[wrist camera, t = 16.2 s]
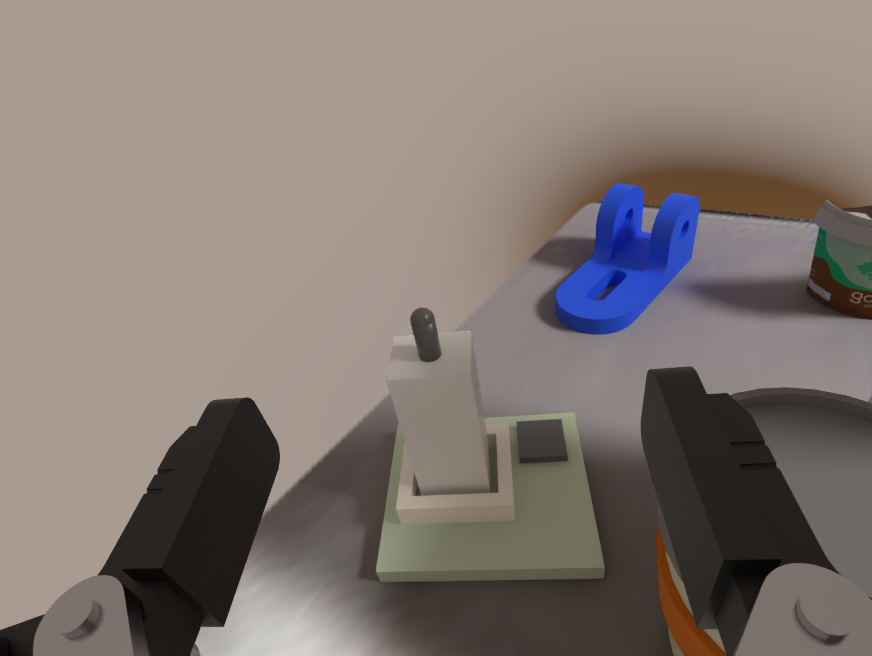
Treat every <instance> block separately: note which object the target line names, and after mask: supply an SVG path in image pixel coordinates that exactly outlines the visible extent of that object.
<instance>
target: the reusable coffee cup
mask: <svg viewBox="0 0 872 656" xmlns="http://www.w3.org/2000/svg"><path fill="white" fill-rule="evenodd" d="M730 396H731V397H732V398H733V399H734V400H735V401H737V402H738V403H739V404H740V405H741V406H742V407H743V408H744V409H746V410H747V411H748V412H749V413H750V414H751V415H752V417H753V419H754V421H755V423H756V425H757V426H758V428H759V430H760V432H761V434H762V436H763V438H764V440H765V445H766V446H768V447H769V449H770V451H771V453H772V455H773V457H774V459H775V461H776V466H777V468H780V470H781V472H782V474H783V476H784V478H785V480H786V482H787V484H788V485H789V487H790V489H791V491H792V493H793V495H794V497H795V499H796V501H797V503H798V504H799V506H800V508H801V510H802V512H803V514H804V516H805V518H806V520H807V522H808V523H809V525H810V527H811V529H812V531H813V533H814V535H815V537H816V539H817V541H818V542H819V544H820V546H821V548H822V550H823V552H824V553H825V555H826V557H827V558H828V560H829V561H830V563H831V564H832V565H833V566H834V568H835V569H836V570H837V571H838V572H839V573H840V574H841V575H842V576H843V577H844V578H846V579H848V580H849V581H850V582H852V583H853V584H855V585H856V586H857V587H858V588H860V589H861V590H862V591H863V592H864V593H865V594H866V595H867V596H869V597H870V598H872V403H869V402H866V401H863V400H859V399H856V398H852V397H849V396H846V395H841V394H835V393H830V392H825V391H820V390H813V389H800V388H787V387H785V388H764V389H756V390H750V391H745V392H740V393H735V394H733V395H730ZM657 517H658V526H657V531H656V543H657V565H658V583H659V597H660V602H661V606H662V610H663V614H664V618H665V620H666V622H667V625H668V631H669V640H670V644H671V648H672V652H673V655H674V656H726V653H725V649H724V646H723V643H722V640H721V637H720V634H719V631H718V629H697V627H696V623H695V620H694V617H693V613H692V610H691V607H690V603H689V600H688V597H687V593H686V590H685V587H684V583H683V580H682V577H681V573H680V570H679V567H678V563H677V560H676V557H675V553H674V550H673V547H672V543H671V540H670V537H669V533H668V530H667V526H666V523H665V520H664V516H663V513H662V510H661V506H660V503H659V500H658V496H657Z"/></svg>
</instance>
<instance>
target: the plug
mask: <svg viewBox="0 0 872 656" xmlns="http://www.w3.org/2000/svg"><path fill="white" fill-rule="evenodd" d="M410 321H411V326H412V330H413V334H414V335H410V336H398V337H394V341H393V346H392V352H391V357H390V362H389V368H388V373H387V379H386V382H387V385H388V388H389V392H390V395H391V398H392V401H393V405H394V408H395V411H396V414H397V418H398V421H399V424H400V427H401V431H402V434H403V437H404V440H405V444H406V447H407V450H408V453H409V457H410V460H411V463H412V466H413V470H414V473H415V476H416V479H417V483H418V486H419V489H420V492H421V496H428V495H453V494H478V493H491V460H490V451H489V444H488V438H487V431H486V425H485V418H484V411H483V405H482V398H481V392H480V385H479V379H478V372H477V365H476V359H475V352H474V346H473V339H472V332H471V330H466V331H455V332H443V333H437V328H436V323H435V318H434V315H433V313H432V312H431V311H430V310H429V309H427V308H418V309H416V310H415V311H414V312H413V313H412V315H411V319H410Z"/></svg>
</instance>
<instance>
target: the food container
mask: <svg viewBox="0 0 872 656" xmlns="http://www.w3.org/2000/svg"><path fill="white" fill-rule="evenodd" d="M813 222H814V223H815V224H816V225H818V226H819V232H818V237H817V242H816V246H815V251H814V256H813V261H812V266H811V271H810V276H809V281H808V286H807V292H808V293H809V294H810V295H811V297H812V298H814V299H815V300H817V301H818V302H819V303H821V304H822V305H824V306H826V307H828V308H830V309H833V310H835V311H837V312H840V313H842V314H846V315H850V316H854V317H858V318H864V319H872V206H865V207H857V208H844V209H839V208H837V207H836V206H834V205H832V204H831V203H830V202H829V201H828V200H826V201H825V204H824V206H823V207H820V209H819V210H818V212H817V214H816V216H815V217H814V219H813Z"/></svg>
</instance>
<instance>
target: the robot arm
mask: <svg viewBox="0 0 872 656" xmlns="http://www.w3.org/2000/svg"><path fill="white" fill-rule="evenodd" d="M868 402H869V403H872V396H871V398H870V399H869V401H868ZM641 437H642V444H643V449H644V453H645V456H646V460H647V463H648V466H649V470H650V473H651V476H652V480H653V483H654V486H655V490H656V493H657V496H658V500H659V503H660V506H661V510H662V513H663V516H664V520H665V523H666V526H667V530H668V533H669V537H670V540H671V543H672V547H673V550H674V553H675V557H676V560H677V563H678V567H679V570H680V573H681V577H682V580H683V583H684V587H685V590H686V593H687V597H688V600H689V603H690V607H691V610H692V613H693V617H694V620H695V623H696V627H697V629H718V631H719V634H720V637H721V640H722V643H723V646H724V649H725V653H726V656H872V598H870V597H869V596H867V595H866V594H865V593H864V592H863V591H862V590H861V589H860V588H858V587H857V586H856V585H855V584H853V583H852V582H850V581H849V580H848V579H846V578H844V577H843V576H842V575H841V574H840V573H839V572H838V571H837V570H836V569H835V568H834V566H833V565H832V564H831V563H830V561H829V560H828V558H827V557H826V555H825V553H824V552H823V550H822V548H821V546H820V544H819V542H818V541H817V539H816V537H815V535H814V533H813V531H812V529H811V527H810V525H809V523H808V522H807V520H806V518H805V516H804V514H803V512H802V510H801V508H800V506H799V504H798V503H797V501H796V499H795V497H794V495H793V493H792V491H791V489H790V487H789V485H788V484H787V482H786V480H785V478H784V476H783V474H782V472H781V470H780V468H777V466H776V461H775V459H774V457H773V455H772V453H771V451H770V449H769V447H768V446H766V445H765V440H764V438H763V436H762V434H761V432H760V430H759V428H758V426H757V425H756V423H755V421H754V419H753V417H752V415H751V414H750V413H749V412H748V411H747V410H746V409H744V408H743V407H742V406H741V405H740V404H739V403H738V402H737V401H735V400H734V399H733V398H732V397H731V396H730V395H729V394H728V393H720V394H707V393H706V391H705V389H704V387H703V385H702V382H701V380H700V378H699V376H698V374H697V372H696V370H695V369H694V368H693V367H677V368H663V369H650V370H648V373H647V377H646V385H645V392H644V400H643V408H642V416H641ZM279 461H280V452H279V446H278V443H277V440H276V438H275V437H274V435H273V433H272V432H271V430H270V428H269V426H268V425H267V423H266V421H265V419H264V418H263V416H262V414H261V412H260V411H259V409H258V407H257V406H256V404H255V402H254V401H253V400H252V399H250V398H235V399H221V400H213V401H212V402H210V403H209V404H208V405H207V407H206V409H205V411H204V412H203V414H202V416H201V418H200V420H199V422H198V424H197V426H190V427H189V428H188V429H187V430H186V431H185V432H184V433H183V434H182V435H181V436H180V437H179V438H178V439H177V440H176V441H175V442H174V443H173V445H172V446H171V447H170V448H169V450H168V452H167V453H166V455H165V457H164V459H163V461H162V462H161V464H160V466H159V468H158V470H157V471H158V474H157V475H154V477H153V479H152V480H151V482H150V484H149V486H148V488H147V493H146V494H144V495H143V497H142V499H141V500H140V502H139V504H138V506H137V507H136V509H135V511H134V513H133V515H132V517H131V519H130V520H129V522H128V524H127V526H126V527H125V529H124V531H123V533H122V535H121V536H120V538H119V540H118V542H117V543H116V546H115V548H114V549H113V551H112V553H111V554H110V556H109V558H108V560H107V561H106V563H105V565H104V567H103V569H102V570H101V571H100V573H99V574H98V575H97V576H95V577H91V578H88V579H86V580H83V581H82V582H80V583H78V584H76V585H75V586H73V587H72V588H70V589H69V590H68V591H66V592H65V593H64V594H63V595H62V596H61V597H60V598H59V599H57V601H56V602H55V603H54V604H53V605H52V606H51V607H50V608H49V610H48V611H47V613H46V614H44V615H42V616H39V617H36V618H33V619H30V620H27V621H25V622H22V623H19V624H16V625H13V626H10V627H8V628H5V629H2V630H0V656H200V652H199V650H198V647H197V646H196V644H195V641H196V638H197V635H198V633H199V630H200V627H224V625H225V622H226V619H227V616H228V613H229V610H230V607H231V604H232V601H233V599H234V596H235V593H236V590H237V587H238V584H239V581H240V578H241V575H242V573H243V570H244V567H245V564H246V561H247V558H248V555H249V552H250V549H251V546H252V544H253V541H254V538H255V535H256V532H257V529H258V526H259V523H260V520H261V518H262V515H263V512H264V509H265V506H266V503H267V500H268V497H269V494H270V492H271V488H272V486H273V483H274V480H275V477H276V474H277V471H278V468H279Z"/></svg>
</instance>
